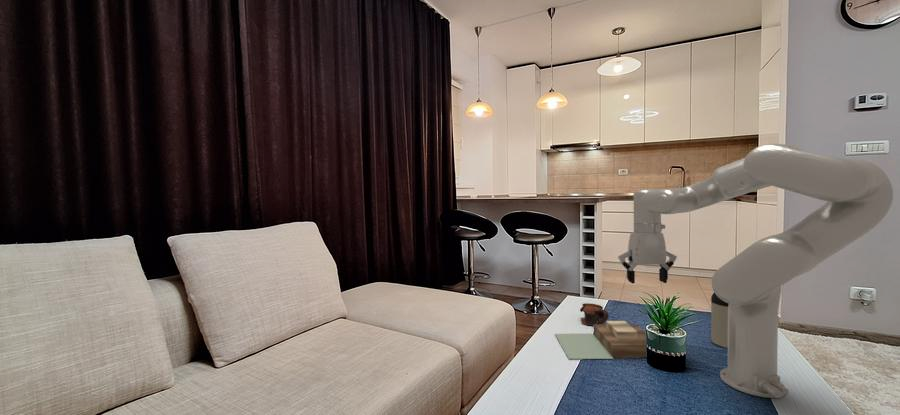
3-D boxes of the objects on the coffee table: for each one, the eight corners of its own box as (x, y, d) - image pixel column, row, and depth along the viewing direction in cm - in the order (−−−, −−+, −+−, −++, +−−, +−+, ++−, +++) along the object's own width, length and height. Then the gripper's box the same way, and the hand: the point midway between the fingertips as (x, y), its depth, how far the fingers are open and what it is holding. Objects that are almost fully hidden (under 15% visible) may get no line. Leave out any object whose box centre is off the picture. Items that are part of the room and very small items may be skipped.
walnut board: (660, 357, 103) (660, 344, 103) (612, 357, 104) (611, 344, 104) (635, 335, 119) (635, 323, 119) (593, 335, 120) (593, 324, 120)
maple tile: (637, 339, 107) (637, 331, 107) (617, 339, 107) (617, 331, 107) (624, 328, 116) (624, 320, 116) (606, 328, 116) (606, 321, 116)
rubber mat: (613, 359, 103) (613, 358, 103) (568, 359, 104) (568, 358, 104) (592, 334, 121) (592, 333, 121) (554, 334, 122) (554, 333, 122)
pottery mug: (573, 323, 133) (575, 302, 136) (589, 329, 137) (591, 308, 140) (600, 324, 123) (602, 301, 126) (617, 331, 127) (618, 308, 130)
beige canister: (735, 352, 105) (736, 293, 104) (706, 342, 112) (706, 287, 111) (748, 345, 109) (748, 288, 108) (718, 336, 116) (718, 283, 115)
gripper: (669, 226, 113) (669, 278, 114) (614, 227, 114) (614, 279, 115) (682, 229, 105) (682, 285, 106) (623, 230, 107) (623, 285, 107)
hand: (647, 282), depth 111 cm, fingers open, 9 cm apart
